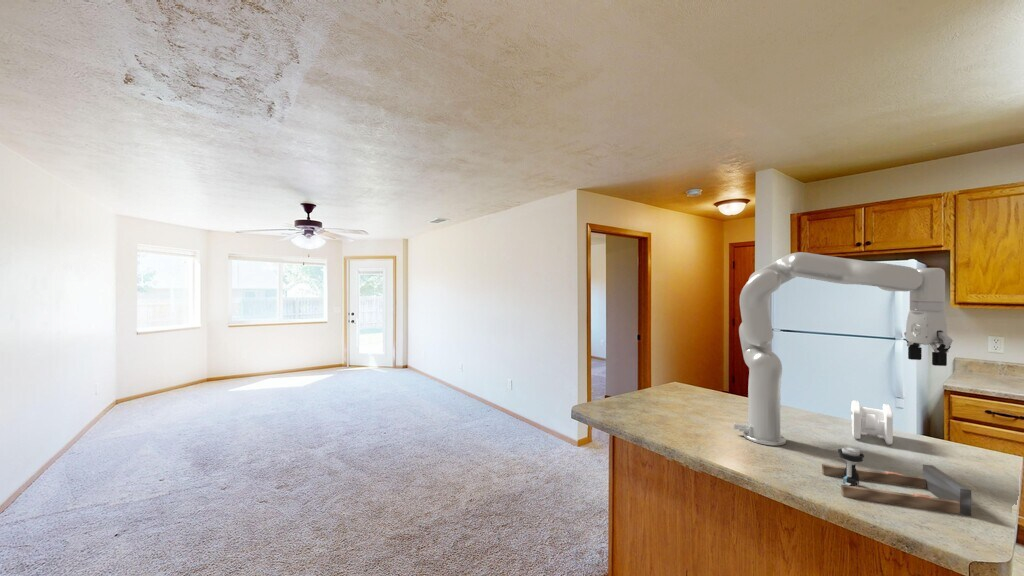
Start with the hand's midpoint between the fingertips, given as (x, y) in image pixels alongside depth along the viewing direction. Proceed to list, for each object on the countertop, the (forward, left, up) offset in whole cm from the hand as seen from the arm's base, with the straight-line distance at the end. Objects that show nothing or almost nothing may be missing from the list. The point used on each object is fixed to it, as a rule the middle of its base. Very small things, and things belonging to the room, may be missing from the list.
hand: (926, 362), depth 121 cm
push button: (-30, -28, -31) cm, 51 cm away
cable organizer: (-7, +16, -31) cm, 35 cm away
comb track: (-22, -28, -30) cm, 47 cm away
